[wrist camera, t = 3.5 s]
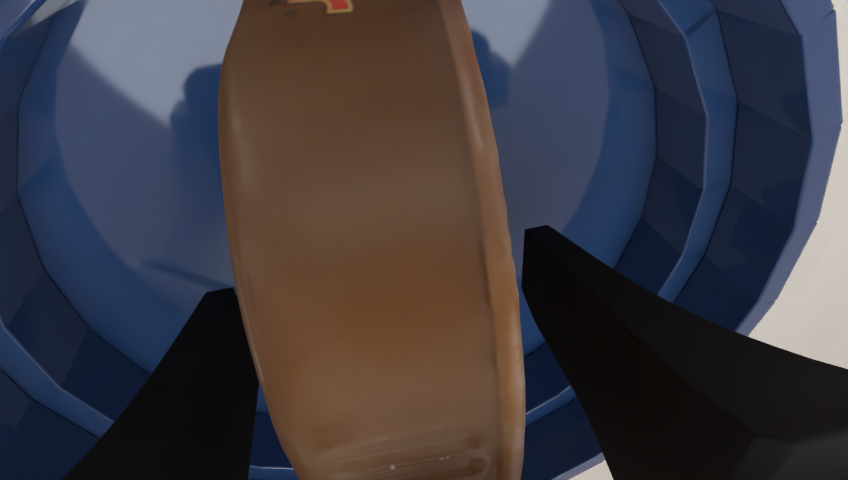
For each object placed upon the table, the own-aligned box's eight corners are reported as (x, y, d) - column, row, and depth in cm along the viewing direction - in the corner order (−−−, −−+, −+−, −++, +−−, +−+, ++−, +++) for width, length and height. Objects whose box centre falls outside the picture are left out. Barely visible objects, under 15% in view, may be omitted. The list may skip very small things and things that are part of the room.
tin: (447, 384, 18) (530, 668, 12) (366, 404, 18) (405, 706, 12) (401, -89, 9) (670, 14, 3) (231, -68, 9) (38, 113, 2)
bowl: (168, 472, 19) (139, 610, 15) (-381, -175, 7) (-1079, -222, 3) (625, 364, 21) (691, 463, 17) (806, -272, 9) (1128, -363, 6)
